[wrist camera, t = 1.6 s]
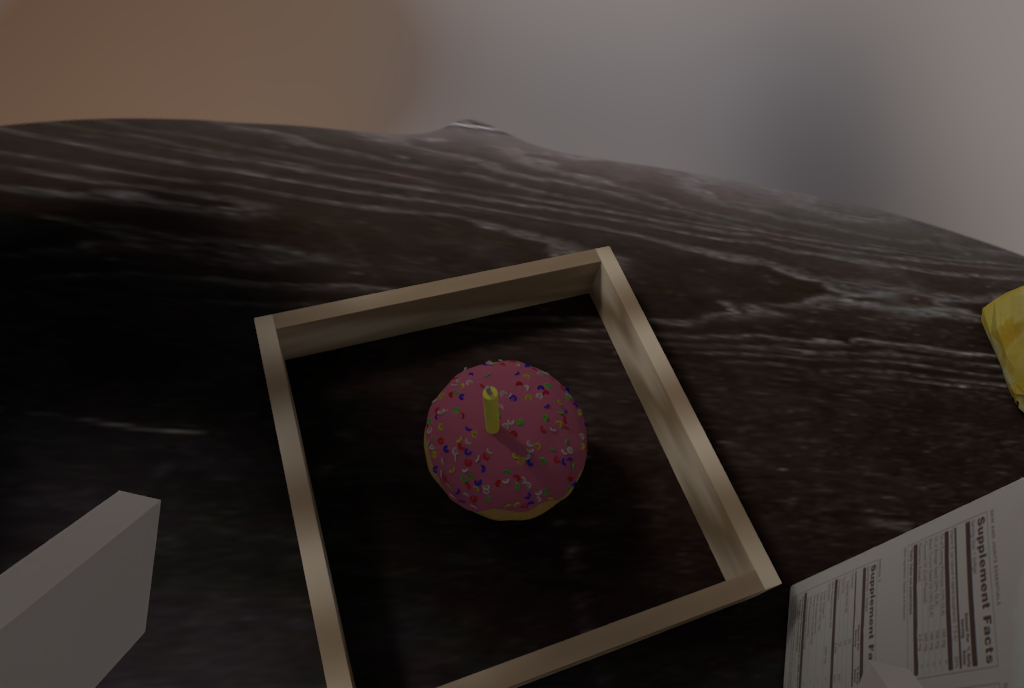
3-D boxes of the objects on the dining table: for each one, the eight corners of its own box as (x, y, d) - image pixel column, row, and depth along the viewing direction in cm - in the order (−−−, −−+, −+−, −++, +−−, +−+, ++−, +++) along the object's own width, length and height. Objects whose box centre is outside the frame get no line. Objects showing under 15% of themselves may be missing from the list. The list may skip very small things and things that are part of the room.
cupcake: (474, 574, 37) (501, 500, 26) (392, 445, 40) (388, 334, 30) (599, 490, 40) (666, 395, 30) (515, 377, 43) (549, 256, 33)
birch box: (264, 350, 42) (253, 318, 39) (596, 278, 48) (609, 246, 45) (346, 752, 32) (340, 751, 29) (752, 597, 38) (781, 583, 35)
